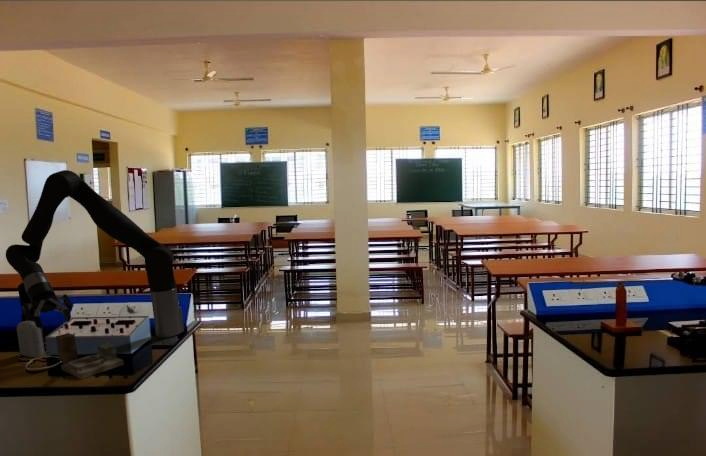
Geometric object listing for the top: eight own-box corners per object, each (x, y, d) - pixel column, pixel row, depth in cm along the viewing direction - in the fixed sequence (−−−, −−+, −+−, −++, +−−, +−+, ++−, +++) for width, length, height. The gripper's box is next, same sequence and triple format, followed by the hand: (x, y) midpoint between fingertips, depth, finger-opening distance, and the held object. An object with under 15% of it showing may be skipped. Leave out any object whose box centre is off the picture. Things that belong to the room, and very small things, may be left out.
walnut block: (72, 358, 172) (68, 332, 171) (78, 361, 169) (74, 335, 168) (59, 362, 169) (55, 336, 168) (65, 365, 166) (61, 338, 165)
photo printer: (47, 354, 180) (42, 320, 179) (34, 358, 176) (29, 323, 175) (31, 351, 185) (26, 318, 184) (18, 355, 181) (13, 321, 180)
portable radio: (26, 337, 205) (17, 276, 203) (43, 334, 208) (34, 274, 205) (23, 342, 198) (13, 279, 196) (41, 339, 201) (31, 277, 198)
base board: (103, 356, 171) (101, 341, 171) (123, 364, 161) (121, 347, 161) (61, 369, 161) (59, 353, 161) (80, 379, 152) (78, 361, 151)
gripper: (16, 285, 172) (33, 322, 166) (62, 277, 183) (79, 311, 176) (14, 299, 176) (30, 336, 170) (58, 290, 187) (75, 324, 180)
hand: (55, 323), depth 173 cm, fingers open, 8 cm apart
